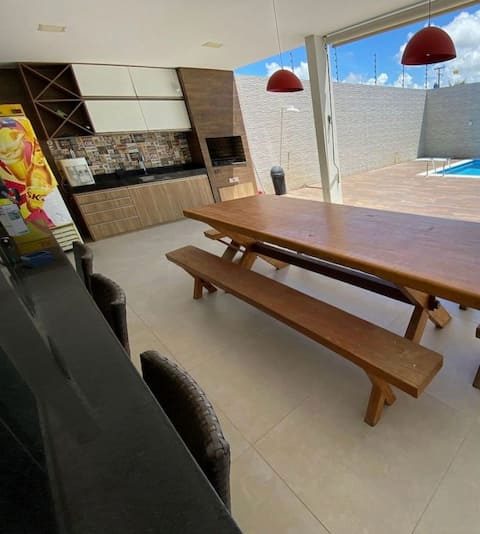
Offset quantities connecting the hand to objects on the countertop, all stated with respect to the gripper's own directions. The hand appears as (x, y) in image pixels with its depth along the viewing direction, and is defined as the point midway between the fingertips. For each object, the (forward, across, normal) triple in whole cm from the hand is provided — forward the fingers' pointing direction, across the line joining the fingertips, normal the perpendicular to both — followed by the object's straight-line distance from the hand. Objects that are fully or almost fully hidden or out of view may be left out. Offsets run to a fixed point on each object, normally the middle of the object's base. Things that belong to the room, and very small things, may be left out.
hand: (8, 212), depth 146 cm
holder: (+24, +3, +13) cm, 27 cm away
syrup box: (+11, 0, 0) cm, 11 cm away
